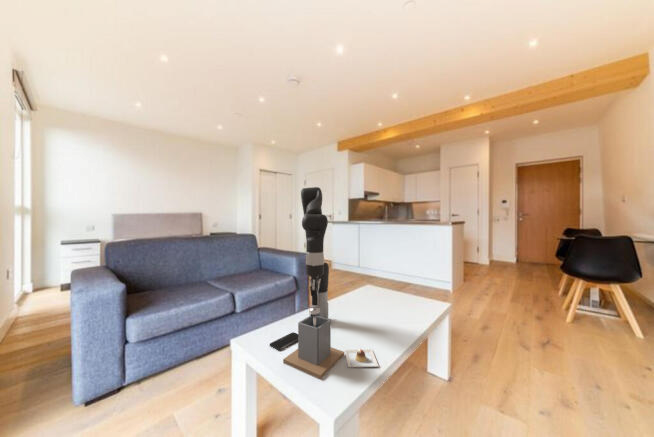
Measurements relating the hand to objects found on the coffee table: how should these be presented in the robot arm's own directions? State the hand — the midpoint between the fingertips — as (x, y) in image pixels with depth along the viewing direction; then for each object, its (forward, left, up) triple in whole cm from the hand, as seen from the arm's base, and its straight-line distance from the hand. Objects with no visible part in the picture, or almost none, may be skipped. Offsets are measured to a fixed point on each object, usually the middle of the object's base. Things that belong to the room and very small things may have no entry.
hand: (314, 304), depth 98 cm
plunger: (0, 0, -18) cm, 18 cm away
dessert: (-10, +16, -23) cm, 30 cm away
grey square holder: (0, 0, -22) cm, 22 cm away
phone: (-4, -19, -23) cm, 30 cm away
